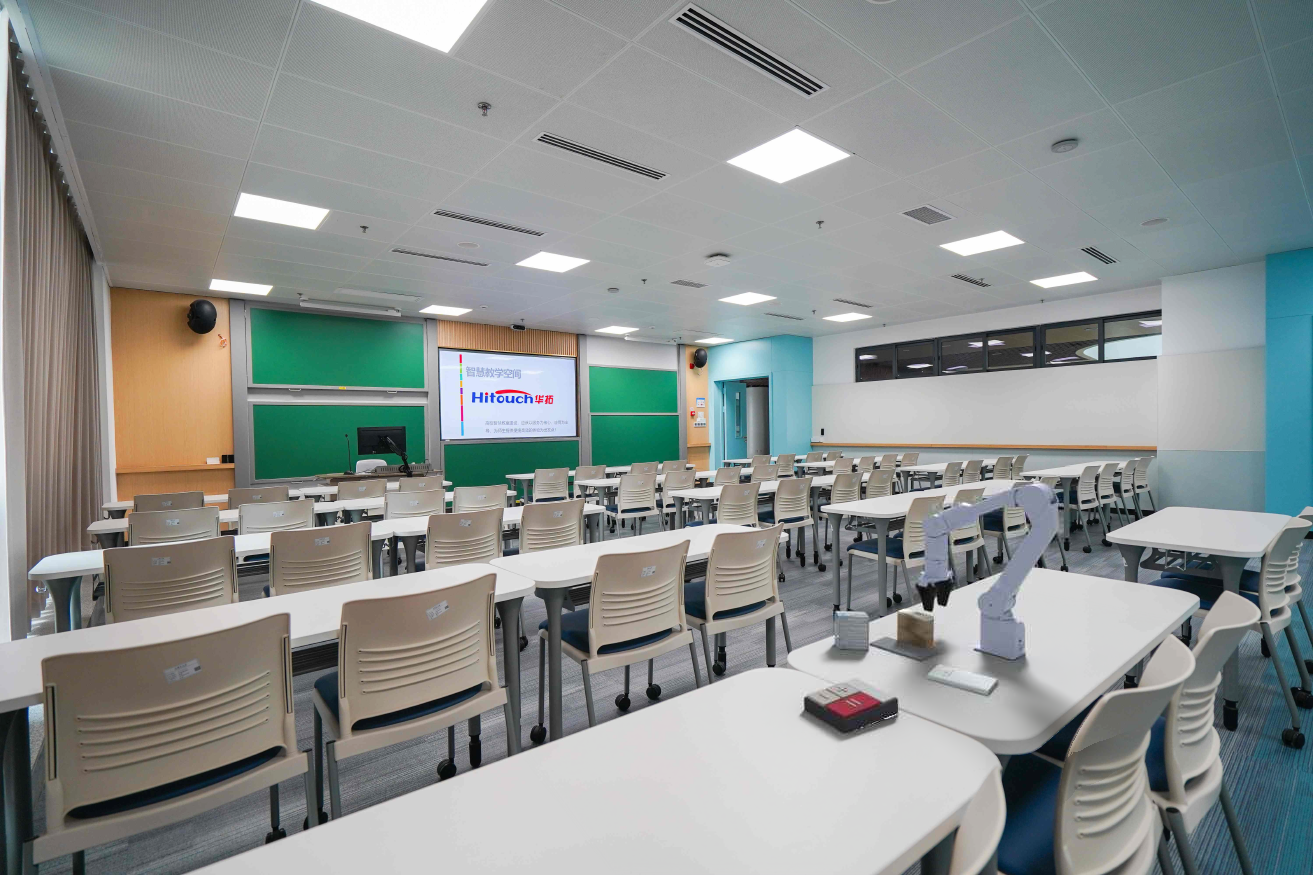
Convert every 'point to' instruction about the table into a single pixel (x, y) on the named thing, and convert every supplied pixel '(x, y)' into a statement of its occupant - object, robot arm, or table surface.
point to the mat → (904, 648)
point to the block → (915, 628)
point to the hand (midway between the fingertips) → (935, 608)
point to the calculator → (850, 705)
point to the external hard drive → (963, 679)
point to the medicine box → (852, 630)
